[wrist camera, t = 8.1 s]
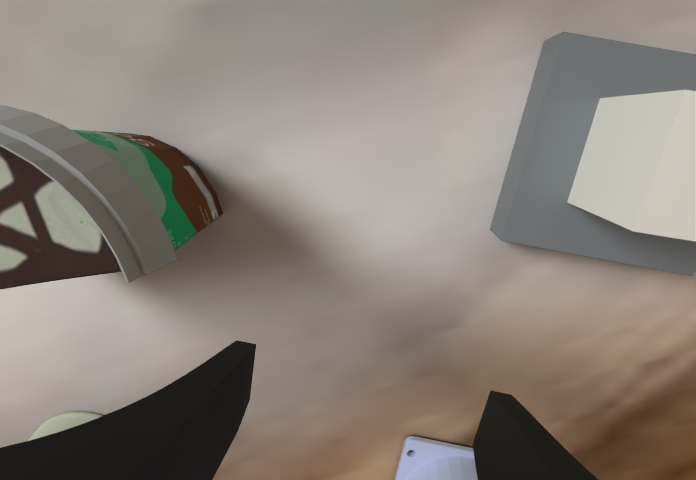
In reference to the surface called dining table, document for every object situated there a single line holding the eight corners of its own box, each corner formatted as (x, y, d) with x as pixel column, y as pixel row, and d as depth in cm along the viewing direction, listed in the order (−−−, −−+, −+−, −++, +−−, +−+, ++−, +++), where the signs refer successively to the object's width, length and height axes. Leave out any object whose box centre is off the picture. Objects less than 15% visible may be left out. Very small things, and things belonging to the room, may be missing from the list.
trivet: (663, 261, 21) (692, 276, 19) (490, 229, 21) (500, 240, 19) (744, 75, 18) (787, 70, 16) (544, 41, 18) (563, 31, 16)
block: (667, 218, 18) (770, 253, 13) (567, 202, 18) (633, 231, 13) (708, 114, 17) (839, 112, 12) (600, 98, 17) (685, 89, 12)
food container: (221, 90, 20) (75, 62, 10) (249, 210, 22) (145, 281, 12) (2, 130, 22) (-300, 139, 12) (44, 240, 23) (-192, 324, 14)
